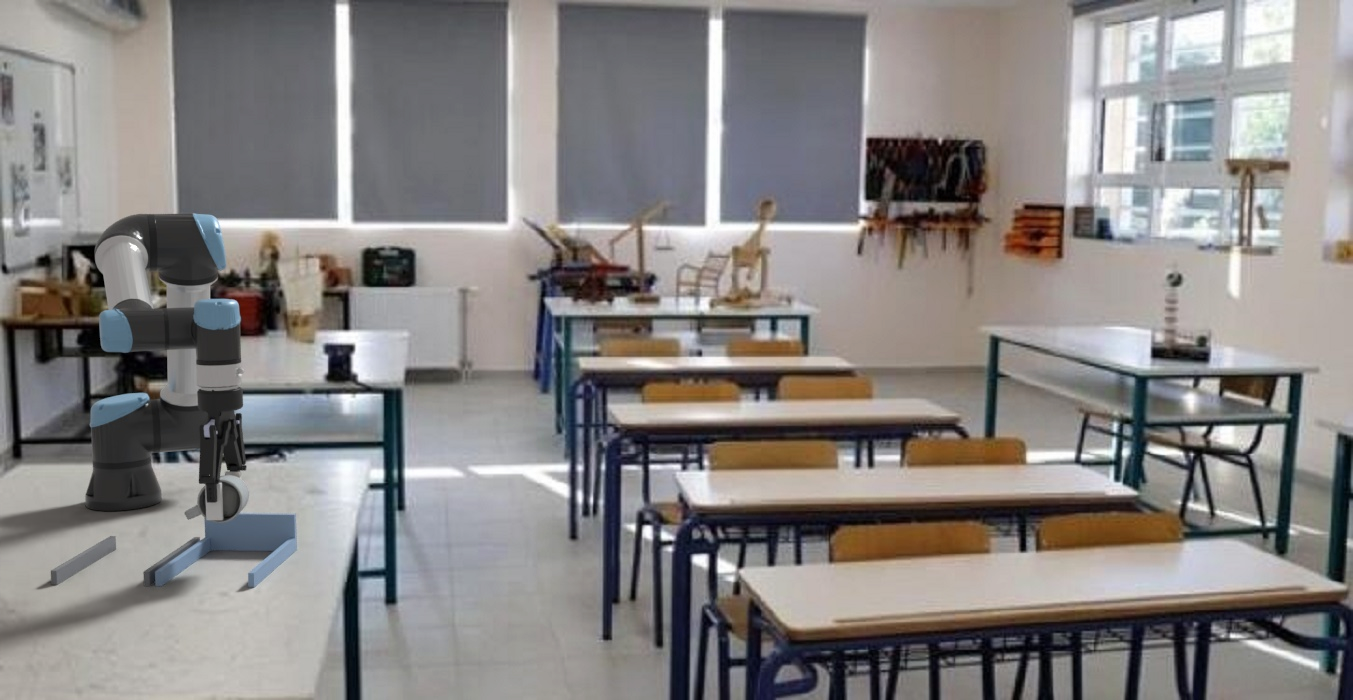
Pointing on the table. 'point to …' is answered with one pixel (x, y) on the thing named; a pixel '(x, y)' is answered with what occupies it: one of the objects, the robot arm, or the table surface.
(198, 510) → the ceramic mug
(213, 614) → the table surface
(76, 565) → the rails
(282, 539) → the frame
